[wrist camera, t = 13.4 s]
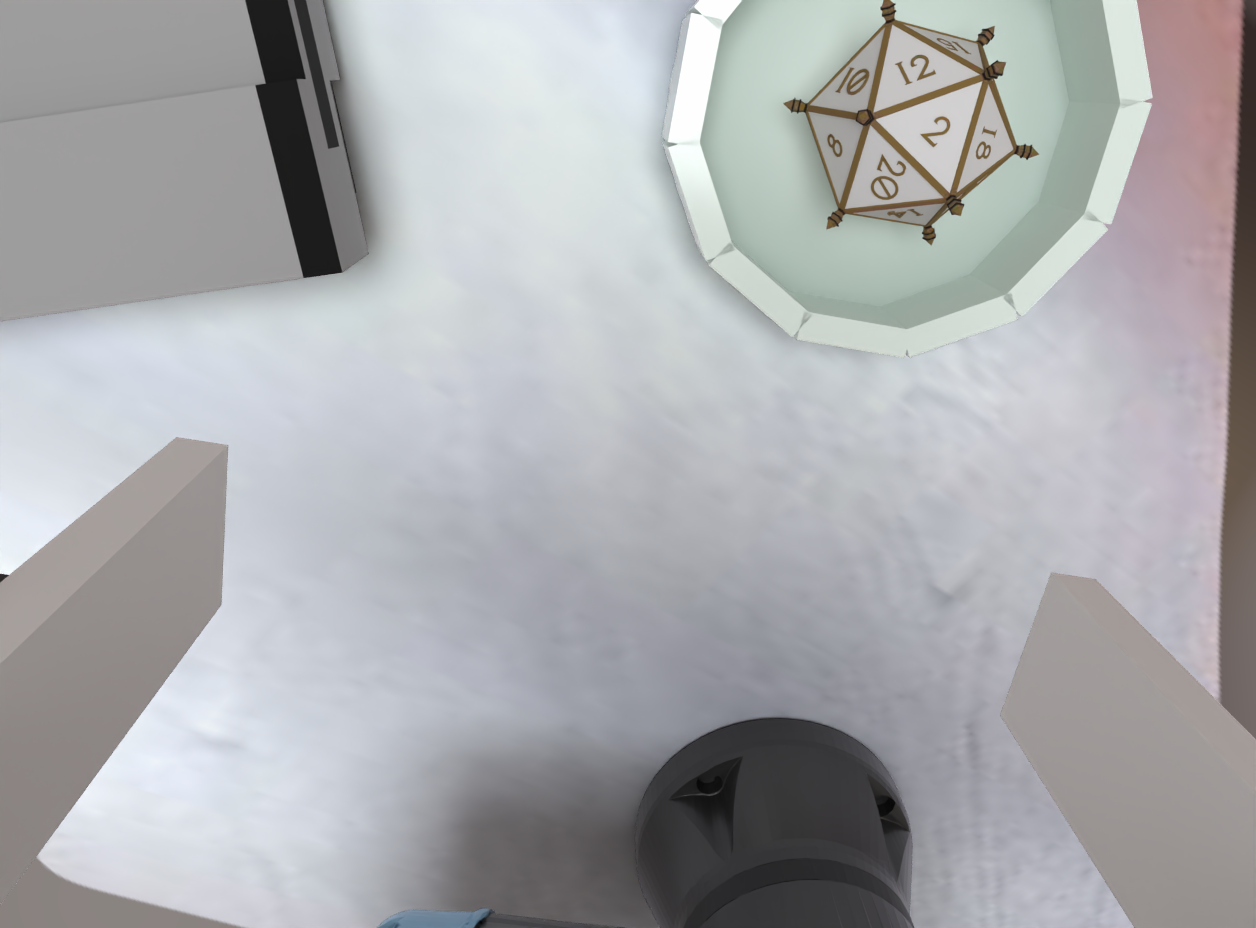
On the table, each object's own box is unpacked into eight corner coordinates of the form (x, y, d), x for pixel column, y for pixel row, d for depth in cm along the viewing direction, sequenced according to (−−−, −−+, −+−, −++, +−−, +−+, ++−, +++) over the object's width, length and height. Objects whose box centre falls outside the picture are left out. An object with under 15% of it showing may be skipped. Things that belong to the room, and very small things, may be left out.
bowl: (1008, 352, 48) (1057, 384, 42) (633, 286, 46) (636, 312, 41) (1141, -70, 41) (1217, -91, 36) (713, -160, 40) (729, -197, 35)
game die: (888, 155, 47) (976, 312, 42) (729, 124, 43) (802, 291, 38) (1010, -25, 40) (1132, 134, 35) (834, -80, 37) (941, 88, 31)
